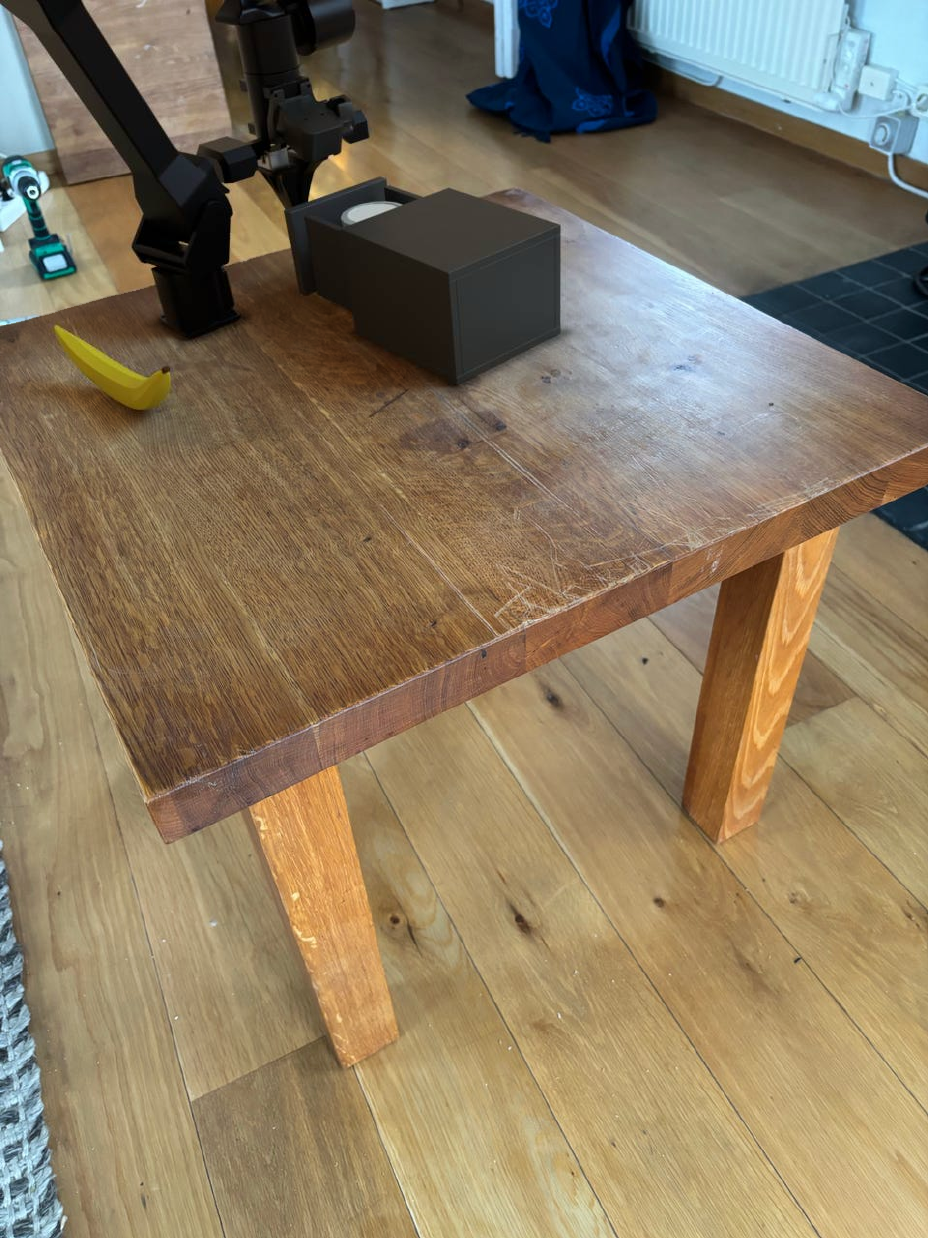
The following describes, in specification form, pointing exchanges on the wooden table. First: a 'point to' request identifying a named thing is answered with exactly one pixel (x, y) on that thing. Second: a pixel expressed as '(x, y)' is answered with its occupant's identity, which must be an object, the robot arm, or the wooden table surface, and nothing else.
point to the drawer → (331, 237)
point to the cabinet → (454, 282)
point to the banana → (115, 374)
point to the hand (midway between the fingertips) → (299, 223)
